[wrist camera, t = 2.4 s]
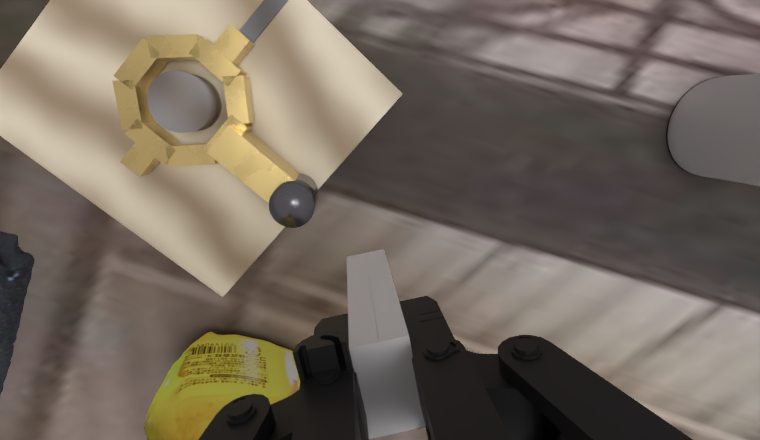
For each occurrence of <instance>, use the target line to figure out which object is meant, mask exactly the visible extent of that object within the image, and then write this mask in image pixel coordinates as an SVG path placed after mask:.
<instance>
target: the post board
mask: <svg viewBox="0 0 760 440" xmlns="http://www.w3.org/2000/svg"><path fill="white" fill-rule="evenodd" d="M230 23H231V24H232V25H233V26H235V27H236V28H237V29H238V30H239V31H240V32H241V33H242V34H244V35H245V36H246V37H247V38H248V39H249V40H250V41H251V42H252V43H253V44H254V45H253V46H252V48H251V49H250V50H249V51H248V53H247V54H246V55H245V56H244V58H243V59H242V60H241V61H240V63H239V64H238V66H240V67H241V68H242V69H243V70H244V71H245V72H246V73H247V74H246V75H245V76H246V77H249V78H250V86H251V95H252V103H253V112H254V121H255V123H249V124H251V125H252V126H253V128H252V129H251V130H250V131H251V132H252V133H253V134H254V135H255V136H257V137H258V138H259V139H260V140H261V141H262V142H264V143H265V144H266V145H267V146H268V147H269V148H271V149H272V150H273V151H274V152H275V153H277V154H278V155H279V156H280V157H281V158H282V159H284V160H285V161H286V162H287V163H288V164H289V165H291V166H292V167H293V168H294V169H295V170H296V171H298V172H299V173H301V174H305V175H307V176H309V177H310V178H312V179H313V180H314V182H315V183H316V185H317V188H318V189H319V188H320V187H321V186H322V185H323V183H324V182H325V181H326V180H327V179H328V178H329V177H330V176H331V174H332V173H333V172H334V171H335V170H336V169H337V168H338V166H339V165H340V164H341V163H342V162H343V161H344V160H345V159H346V157H347V156H348V155H349V154H350V153H351V152H352V151H353V150H354V148H355V147H356V146H357V145H358V144H359V143H360V142H361V140H362V139H363V138H364V137H365V136H366V135H367V134H368V133H369V131H370V130H371V129H372V128H373V127H374V126H375V125H376V124H377V122H378V121H379V120H380V119H381V118H382V117H383V116H384V114H385V113H386V112H387V111H388V110H389V109H390V108H391V107H392V105H393V104H394V103H395V102H396V101H397V100H398V99H399V98H400V96H401V95H402V93H401V92H400V91H399V90H398V89H397V88H396V87H395V86H394V85H393V84H392V83H391V82H390V81H389V80H388V79H387V78H386V77H385V76H384V75H383V74H382V73H381V72H380V71H379V70H378V69H377V68H376V67H375V66H374V65H373V64H372V63H371V62H370V61H368V60H367V59H366V58H365V57H364V56H363V55H362V54H361V53H360V52H359V51H358V50H357V49H356V48H355V47H354V46H353V45H352V44H351V43H350V42H349V41H348V40H347V39H346V38H345V37H344V36H343V35H342V34H341V33H340V32H339V31H338V30H337V29H336V28H335V27H334V26H333V25H332V24H331V23H330V22H329V21H327V20H326V19H325V18H324V17H323V16H322V15H321V14H320V13H319V12H318V11H317V10H316V9H315V8H314V7H313V6H312V5H311V4H310V3H309V2H308V1H307V0H50V1H49V3H48V4H47V5H46V7H45V8H44V10H43V11H42V12H41V14H40V15H39V17H38V18H37V19H36V21H35V22H34V23H33V25H32V26H31V28H30V29H29V30H28V32H27V33H26V35H25V36H24V37H23V39H22V40H21V42H20V43H19V44H18V46H17V47H16V48H15V50H14V51H13V53H12V54H11V55H10V57H9V58H8V60H7V61H6V62H5V64H4V65H3V67H2V68H1V69H0V136H1V137H3V138H4V139H6V140H7V141H8V142H10V143H11V144H12V145H14V146H15V147H17V148H18V149H19V150H21V151H22V152H23V153H25V154H26V155H28V156H29V157H30V158H32V159H33V160H34V161H36V162H37V163H39V164H40V165H41V166H43V167H44V168H45V169H47V170H48V171H50V172H51V173H52V174H54V175H55V176H56V177H58V178H59V179H61V180H62V181H63V182H65V183H66V184H67V185H69V186H70V187H72V188H73V189H74V190H76V191H77V192H79V193H80V194H81V195H83V196H84V197H85V198H87V199H88V200H90V201H91V202H92V203H94V204H95V205H96V206H98V207H99V208H101V209H102V210H103V211H105V212H106V213H107V214H109V215H110V216H112V217H113V218H114V219H116V220H117V221H118V222H120V223H121V224H123V225H124V226H125V227H127V228H128V229H129V230H131V231H132V232H134V233H135V234H136V235H138V236H139V237H140V238H142V239H143V240H145V241H146V242H147V243H149V244H150V245H151V246H153V247H154V248H156V249H157V250H158V251H160V252H161V253H162V254H164V255H165V256H167V257H168V258H169V259H171V260H172V261H174V262H175V263H176V264H178V265H179V266H180V267H182V268H183V269H185V270H186V271H187V272H189V273H190V274H191V275H193V276H194V277H196V278H197V279H198V280H200V281H201V282H202V283H204V284H205V285H207V286H208V287H209V288H211V289H212V290H213V291H215V292H216V293H218V294H219V295H220V296H222V297H223V296H224V295H225V294H226V293H227V292H228V291H229V290H230V289H231V287H232V286H233V285H234V284H235V283H236V282H237V281H238V279H239V278H240V277H241V276H242V275H243V274H244V273H245V272H246V270H247V269H248V268H249V267H250V266H251V265H252V264H253V263H254V261H255V260H256V259H257V258H258V257H259V256H260V255H261V253H262V252H263V251H264V250H265V249H266V248H267V247H268V246H269V244H270V243H271V242H272V241H273V240H274V239H275V238H276V237H277V235H278V234H279V233H280V232H281V231H282V230H283V229H284V227H285V226H282V225H280V224H279V223H277V222H276V221H275V220H274V219H273V217H272V216H271V214H270V211H269V203H268V202H266V201H265V200H264V199H263V198H262V197H260V196H259V195H258V194H257V193H255V192H254V191H253V190H252V189H250V188H249V187H248V186H247V185H246V184H244V183H243V182H242V181H241V180H239V179H238V178H237V177H236V176H234V175H233V174H232V173H231V172H230V171H228V170H227V169H226V168H225V167H223V166H222V165H221V164H220V163H217V164H207V165H189V166H171V167H169V164H166V165H164V164H162V163H161V162H160V161H159V162H158V164H157V165H156V166H155V167H154V169H153V170H152V171H151V172H150V173H149V174H147V175H144V176H141V177H139V176H138V175H136V174H135V173H134V172H132V171H131V170H130V169H128V168H127V167H126V166H124V165H123V164H122V163H121V162H120V161H121V160H122V159H123V157H124V156H125V155H126V154H127V152H128V151H129V150H130V149H131V147H132V146H133V145H134V144H135V142H134V141H133V140H132V139H130V138H129V137H128V136H127V135H125V133H126V132H127V130H128V129H121V123H120V118H119V113H118V108H117V103H116V98H115V93H114V87H113V82H112V81H117V80H118V79H117V78H115V77H114V74H115V73H116V72H117V70H118V69H119V68H120V66H121V65H122V64H123V62H124V61H125V60H126V59H127V57H128V56H129V55H130V53H131V52H132V51H133V49H134V48H135V47H136V45H137V44H138V43H139V42H140V40H141V39H142V38H143V39H146V40H147V36H155V35H185V34H197V35H199V36H202V37H204V38H206V39H208V40H210V41H211V42H212V43H215V42H216V40H217V39H218V38H219V37H220V35H221V34H222V33H223V32H224V30H225V29H226V28H227V27H228V25H229V24H230ZM147 103H148V107H149V110H150V112H151V114H152V116H153V119H154V122H155V123H156V124H157V125H159V126H160V127H161V128H162V129H164V130H165V131H166V132H167V133H169V134H170V135H171V136H172V137H174V138H175V139H176V140H177V141H179V142H180V143H181V144H194V143H208V142H209V141H210V140H211V138H212V137H213V136H214V135H215V134H216V132H217V131H218V130H219V129H220V127H221V126H222V125H223V124H224V123H225V121H226V120H227V119H228V115H227V107H226V100H225V92H224V85H223V82H222V81H221V80H220V79H219V78H217V77H216V76H215V75H214V74H213V73H212V72H211V71H209V70H208V69H207V68H206V67H205V66H204V65H202V64H201V63H200V62H199V61H198V60H195V61H169V62H168V63H167V64H166V65H165V67H164V68H163V69H162V71H161V72H160V73H159V74H158V76H157V77H156V78H155V79H154V80H153V82H152V83H151V85H150V86H149V87H148V94H147Z"/></svg>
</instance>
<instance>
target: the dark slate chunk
mask: <svg viewBox="0 0 760 440" xmlns="http://www.w3.org/2000/svg"><path fill="white" fill-rule="evenodd" d="M33 264H34V259H33V258H32V256H30V255H29V254H28V253H22V252H21V251H20V248H19V246H18V236H17V235H15V234H10V233H5V232H1V231H0V394H1V392H2V390H3V382H4V380H5V378H6V375H7V371H8V368H9V366H10V363H11V362H10V360H11V357H12V354H13V348H14V345H13V343H14V342H15V340H16V334H17V331H18V328H19V323H20V317H21V313H22V310H23V304H24V299H25V296H26V293H27V287H28V284H29V281H30V279H31V271H32V267H33Z"/></svg>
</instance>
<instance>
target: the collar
mask: <svg viewBox="0 0 760 440" xmlns="http://www.w3.org/2000/svg"><path fill="white" fill-rule="evenodd" d="M253 45H254V44H253V43H252V42H251V41H250V40H249V39H248V38H247V37H246V36H245V35H244V34H242V33H241V32H240V31H239V30H238V29H237V28H236V27H235V26H233V25H232V24H231V23H230V24H229V25H228V27H227V28H226V29H225V30H224V32H223V33H222V34H221V35H220V37H219V38H218V39H217V40H216V42H215V43H212V42H211V41H210V40H208V39H206V38H204V37H202V36H199V35H197V34H185V35H155V36H147V40H146V39H143V38H142V39H141V40H140V42H139V43H138V44H137V45H136V47H135V48H134V49H133V51H132V52H131V53H130V55H129V56H128V57H127V59H126V60H125V61H124V62H123V64H122V65H121V66H120V68H119V69H118V70H117V72H116V73H115V74H114V77H115V78H117V79H118V80H117V81H112V82H113V87H114V93H115V98H116V103H117V108H118V113H119V118H120V123H121V129H128V130H127V132H126V133H125V135H127V136H128V137H129V138H130V139H132V140H133V141H134V142H135V144H134V145H133V146H132V147H131V149H130V150H129V151H128V152H127V154H126V155H125V156H124V157H123V159H122V160H121V161H120V162H121V163H122V164H123V165H124V166H126V167H127V168H128V169H130V170H131V171H132V172H134V173H135V174H136V175H138V176H139V177H141V176H144V175H147V174H149V173H150V172H151V171H152V170H153V169H154V167H155V166H156V165H157V164H158V162H159V161H160V162H161V163H162V164H164V165H166V164H169V167H171V166H189V165H207V164H217V163H220V164H221V165H222V166H223V167H225V168H226V169H227V170H228V171H230V172H231V173H232V174H233V175H234V176H236V177H237V178H238V179H239V180H241V181H242V182H243V183H244V184H246V185H247V186H248V187H249V188H250V189H252V190H253V191H254V192H255V193H257V194H258V195H259V196H260V197H262V198H263V199H264V200H265V201H266V202H268V203H269V211H270V214H271V216H272V217H273V219H274V220H275V221H276V222H277V223H279V224H280V225H282V226H285V227H289V228H295V227H300V226H302V225H304V224H305V223H307V222H308V221H309V220H310V218H311V217H312V215H313V212H314V208H315V204H316V201H317V197H318V188H317V185H316V183H315V182H314V180H313V179H312V178H310V177H309V176H307V175H305V174H301V173H299V172H298V171H296V170H295V169H294V168H293V167H292V166H291V165H289V164H288V163H287V162H286V161H285V160H284V159H282V158H281V157H280V156H279V155H278V154H277V153H275V152H274V151H273V150H272V149H271V148H269V147H268V146H267V145H266V144H265V143H264V142H262V141H261V140H260V139H259V138H258V137H257V136H255V135H254V134H253V133H252V132H251V131H250V130H251V129H252V128H253V126H252V125H251V124H249V123H255V121H254V112H253V103H252V95H251V86H250V78H249V77H246V76H245V75H246V74H247V73H246V72H245V71H244V70H243V69H242V68H241V67H240V66H238V64H239V63H240V61H241V60H242V59H243V58H244V56H245V55H246V54H247V53H248V51H249V50H250V49H251V48H252V46H253ZM195 60H198V61H199V62H200V63H201V64H202V65H204V66H205V67H206V68H207V69H208V70H209V71H211V72H212V73H213V74H214V75H215V76H216V77H217V78H219V79H220V80H221V81H222V82H223V85H224V92H225V100H226V107H227V115H228V119H227V120H226V121H225V123H224V124H223V125H222V126H221V127H220V129H219V130H218V131H217V132H216V134H215V135H214V136H213V137H212V138H211V140H210V141H209V142H208V143H194V144H181V143H180V142H179V141H177V140H176V139H175V138H174V137H172V136H171V135H170V134H169V133H167V132H166V131H165V130H164V129H162V128H161V127H160V126H159V125H157V124H156V123H155V122H154V119H153V116H152V114H151V112H150V110H149V107H148V103H147V94H148V87H149V86H150V85H151V83H152V82H153V80H154V79H155V78H156V77H157V76H158V74H159V73H160V72H161V71H162V69H163V68H164V67H165V65H166V64H167V63H168V62H169V61H195Z"/></svg>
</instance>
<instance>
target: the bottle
mask: <svg viewBox="0 0 760 440" xmlns="http://www.w3.org/2000/svg"><path fill="white" fill-rule="evenodd" d="M299 387H300V378H299V375H298V371H297V368H296V364H295V360H294V357H293V351H291V350H289V349H286V348H283V347H280V346H277V345H275V344H273V343H271V342H268V341H264V340H260V339H255V338H250V337H246V336H241V335H218V334H215V333H213V332H208V333H206V334H205V335H203V336H202V337H201V338H199V339H198V340H197V341H195V342H194V343H192V344H191V345H190V346H189V347H188V348H187V349H186V350H185V351H184V352H183V354H182V355H181V357H180V358H179V359H178V360H177V361H176V362H175V363H174V364H173V365H172V366H171V368H170V370H169V371H168V373H167V375H166V377H165V379H164V381H163V383H162V385H161V386H160V388H159V389H158V391H157V393H156V394H155V396H154V398H153V401H152V403H151V405H150V408H149V410H148V413H147V416H146V419H145V427H144V428H145V432H146V436H147V439H148V440H198V439H199V438H200V437H201V435H202V434H203V432H204V431H205V429H206V428H207V427H208V425H209V424H210V422H211V421H212V419H213V418H214V417H215V415H216V414H217V413H218V412H219V411H220V410H221V409H222V408H223V407H224V406H225V405H227V404H228V403H230V402H231V401H233V400H234V399H236V398H239V397H241V396H245V395H250V394H261V395H264V396H265V397H267V398H268V399H269V402H270V405H271V404H273V403H276V402H278V401H280V400H282V399H285V398H287V397H288V396H290V395H292V394H294V393H295V392H296V391H298V390H299Z"/></svg>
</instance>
